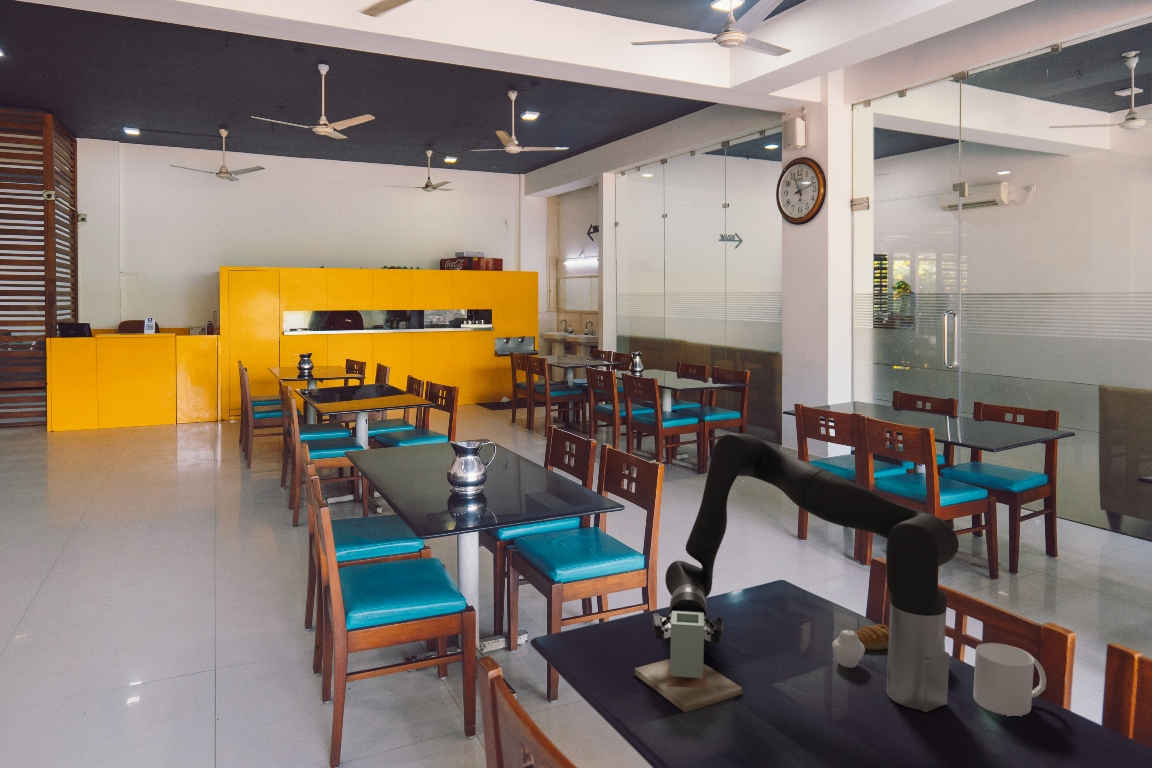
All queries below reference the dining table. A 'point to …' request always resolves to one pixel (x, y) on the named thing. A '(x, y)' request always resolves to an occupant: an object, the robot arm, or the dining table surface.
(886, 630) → the pastry
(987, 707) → the mug
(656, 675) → the post board
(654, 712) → the dining table surface
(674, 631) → the sleeve
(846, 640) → the white piece
